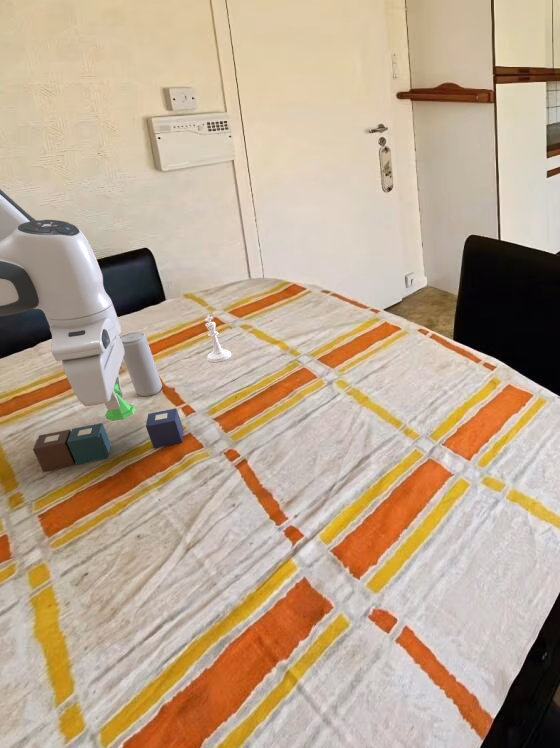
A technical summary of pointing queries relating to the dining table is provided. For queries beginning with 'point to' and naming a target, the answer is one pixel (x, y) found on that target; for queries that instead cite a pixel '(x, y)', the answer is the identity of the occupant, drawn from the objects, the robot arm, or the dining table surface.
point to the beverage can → (140, 364)
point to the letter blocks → (100, 441)
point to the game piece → (120, 409)
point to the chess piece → (215, 344)
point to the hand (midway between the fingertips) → (115, 403)
